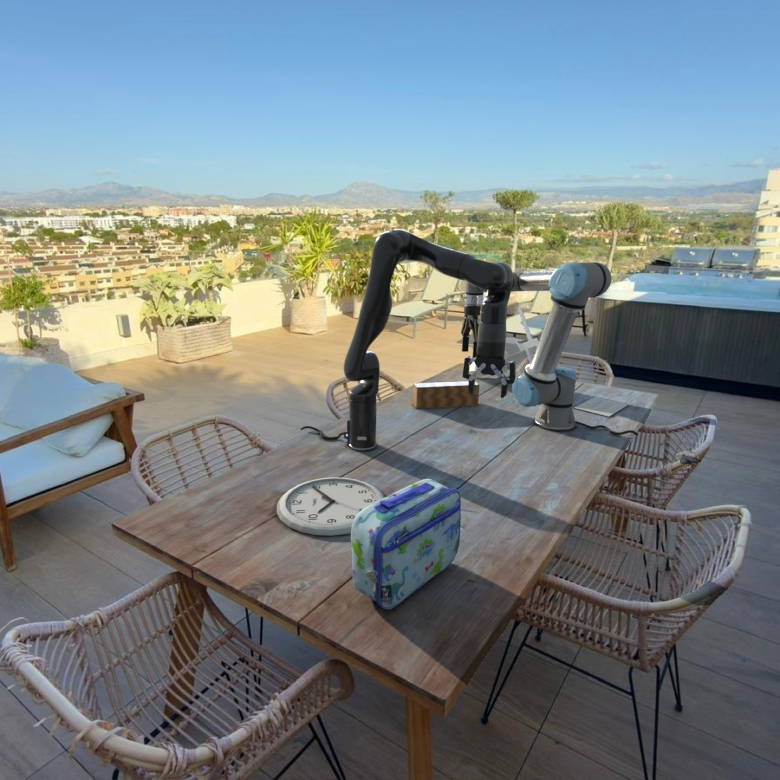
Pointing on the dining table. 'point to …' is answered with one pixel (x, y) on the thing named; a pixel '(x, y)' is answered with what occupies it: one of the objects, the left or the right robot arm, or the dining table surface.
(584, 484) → the dining table surface
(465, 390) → the bar
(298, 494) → the wall clock
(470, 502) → the dining table surface
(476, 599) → the dining table surface
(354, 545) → the lunch box
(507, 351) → the white plastic object
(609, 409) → the invitation card
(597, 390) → the dining table surface
